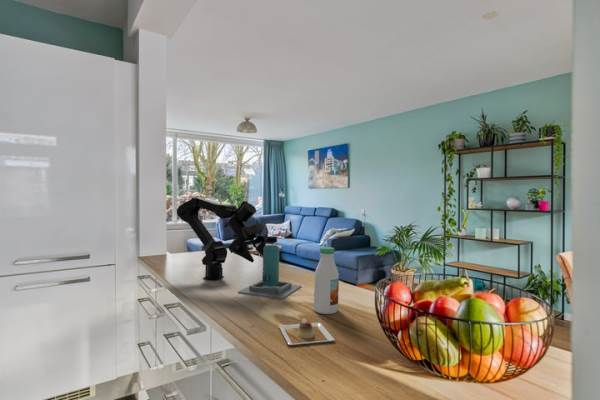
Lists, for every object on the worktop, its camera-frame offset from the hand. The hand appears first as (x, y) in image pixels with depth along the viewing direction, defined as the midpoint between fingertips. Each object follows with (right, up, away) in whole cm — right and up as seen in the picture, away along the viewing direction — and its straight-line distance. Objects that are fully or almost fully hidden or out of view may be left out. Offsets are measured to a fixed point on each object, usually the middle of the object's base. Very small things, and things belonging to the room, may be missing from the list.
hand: (260, 259), depth 129 cm
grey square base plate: (+4, -11, -3) cm, 12 cm away
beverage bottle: (+4, -11, -2) cm, 12 cm away
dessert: (+17, -12, -43) cm, 48 cm away
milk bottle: (+24, -12, -24) cm, 36 cm away
